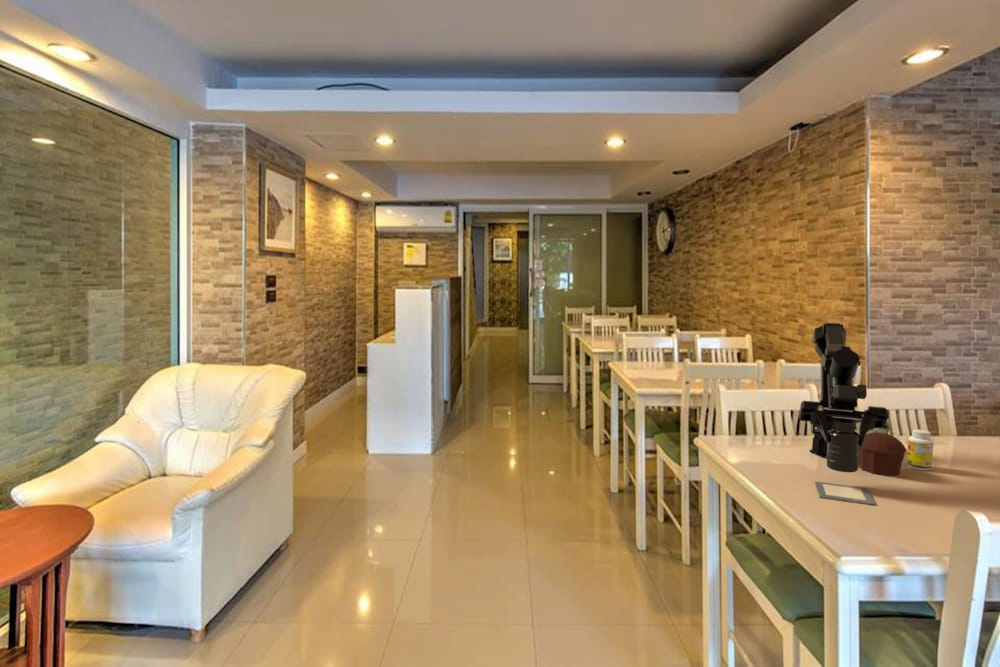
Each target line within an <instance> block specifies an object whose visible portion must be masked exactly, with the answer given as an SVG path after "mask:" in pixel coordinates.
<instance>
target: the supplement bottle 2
mask: <svg viewBox="0 0 1000 667" xmlns="http://www.w3.org/2000/svg"><path fill="white" fill-rule="evenodd" d="M934 443H935V442H934V440H933V439H932V438H931V432H930V431H929V430H926V429H925V430H924V429H917V428H915V429H912V434H911V435H910V436H909V437H908V440H907V451H906V453H907V454H906V455H907V456H906V466H907V467H909V468H911V469H913V470H916V469H918V471H930V470H931V469H932V467H933V466H932V465H933V457H934V456H933V454H934Z"/></svg>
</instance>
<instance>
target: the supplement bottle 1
mask: <svg viewBox="0 0 1000 667" xmlns="http://www.w3.org/2000/svg"><path fill="white" fill-rule="evenodd" d="M833 427H834V429H832V430H830V431H829V433H828V434H829V442H828V443H827V457H826V467H827V468H828V469H830V470H833V471H837V472H841V473H855V472H857V471H859V469H860V468H859V453H860V435H859V434H858V433H857V432H855V430H856V421H854V420H849V419H834V420H833Z"/></svg>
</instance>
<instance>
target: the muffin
mask: <svg viewBox="0 0 1000 667" xmlns="http://www.w3.org/2000/svg"><path fill="white" fill-rule="evenodd" d="M907 451H908V449H906V447H905V445H904V443H903V442H902V441H901V440H900V439H898V438H896V436H893V435H892V434H890V433H888V434H886V433H880V432H873V433H868V434H866V435H865V437H864V440H863V443H862V446H860V453H859V469H860V468H861V469H860V470H862V471H863V472H865V471H866V473H869V474H871V475H876V474H877V475H878V476H884V477H895V476H897V475H899V474H900V472H901V467H902V465H903V461H904V457H905V454H906V453H907Z"/></svg>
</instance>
